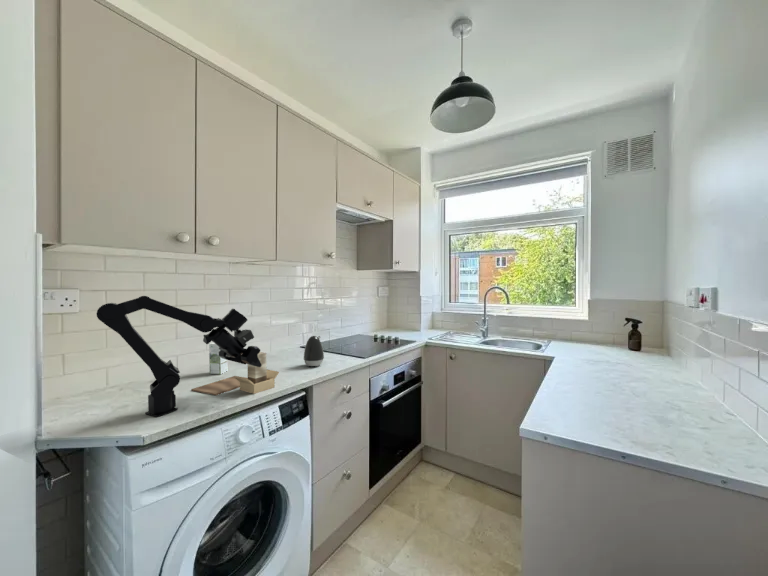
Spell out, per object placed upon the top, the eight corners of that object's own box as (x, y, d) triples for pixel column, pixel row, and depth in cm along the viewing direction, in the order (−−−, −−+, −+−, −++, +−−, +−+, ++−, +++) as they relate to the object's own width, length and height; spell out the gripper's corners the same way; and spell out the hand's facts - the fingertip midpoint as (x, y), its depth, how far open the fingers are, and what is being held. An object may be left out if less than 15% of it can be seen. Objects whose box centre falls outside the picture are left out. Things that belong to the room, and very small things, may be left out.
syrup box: (228, 371, 151) (227, 341, 151) (220, 374, 145) (220, 343, 145) (216, 371, 152) (216, 341, 152) (208, 374, 146) (208, 343, 146)
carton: (248, 395, 117) (248, 380, 117) (234, 391, 122) (233, 376, 122) (279, 385, 128) (279, 371, 128) (264, 382, 133) (264, 368, 133)
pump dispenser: (328, 364, 164) (327, 334, 164) (316, 369, 154) (315, 337, 154) (312, 362, 168) (311, 333, 168) (299, 367, 159) (299, 336, 159)
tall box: (255, 391, 121) (255, 355, 121) (247, 389, 124) (247, 353, 124) (266, 387, 126) (266, 352, 126) (258, 385, 128) (258, 351, 128)
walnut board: (216, 395, 117) (216, 393, 117) (191, 390, 123) (191, 389, 123) (258, 380, 136) (258, 379, 136) (234, 377, 141) (234, 375, 141)
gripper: (255, 324, 114) (280, 349, 123) (225, 322, 124) (251, 345, 133) (235, 350, 107) (263, 375, 117) (205, 345, 117) (234, 368, 127)
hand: (253, 364), depth 123 cm, fingers open, 9 cm apart
